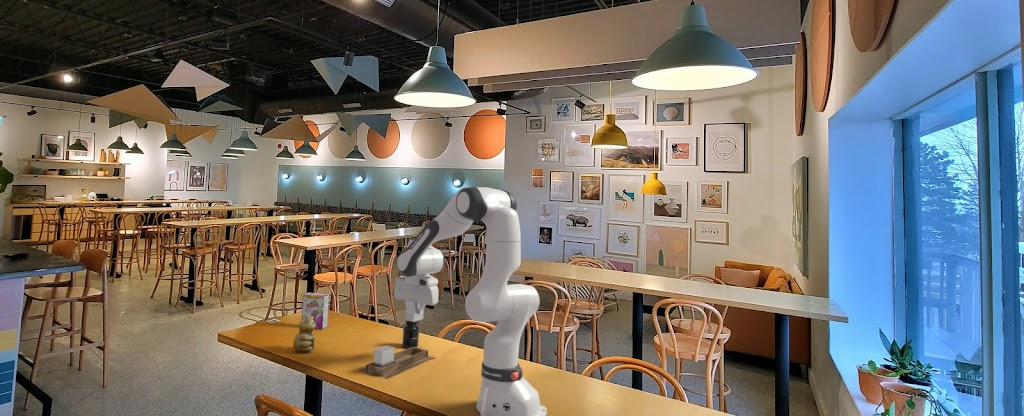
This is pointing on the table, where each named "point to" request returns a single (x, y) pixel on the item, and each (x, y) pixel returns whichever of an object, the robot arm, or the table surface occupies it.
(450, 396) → the table surface
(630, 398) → the table surface
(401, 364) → the brown wooden tray
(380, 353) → the block
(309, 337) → the decorative figurine
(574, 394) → the table surface
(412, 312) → the block
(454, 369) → the table surface
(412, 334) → the supplement bottle
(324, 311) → the candy bar box
